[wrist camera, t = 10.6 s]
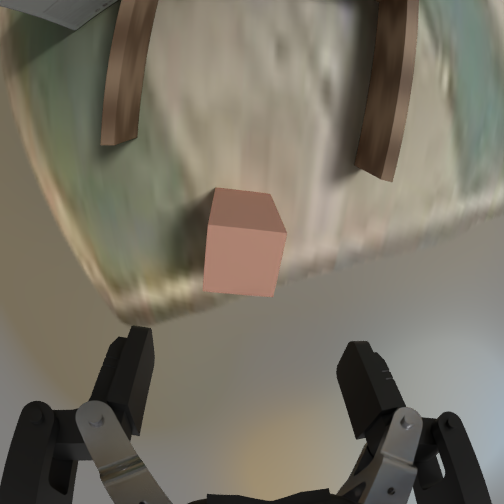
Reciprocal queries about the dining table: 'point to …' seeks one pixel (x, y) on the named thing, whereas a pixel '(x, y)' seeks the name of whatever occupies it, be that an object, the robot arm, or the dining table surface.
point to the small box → (60, 10)
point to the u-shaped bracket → (378, 101)
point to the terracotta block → (243, 244)
